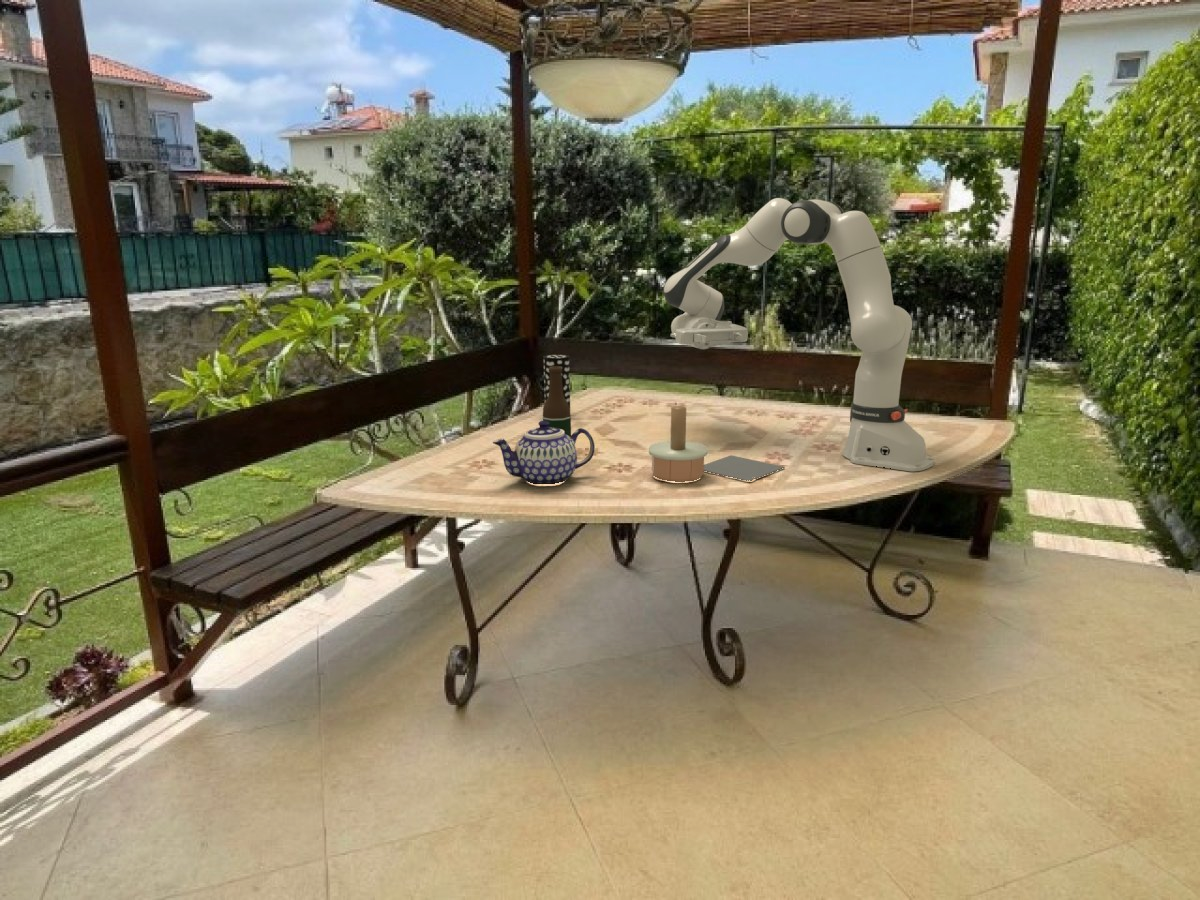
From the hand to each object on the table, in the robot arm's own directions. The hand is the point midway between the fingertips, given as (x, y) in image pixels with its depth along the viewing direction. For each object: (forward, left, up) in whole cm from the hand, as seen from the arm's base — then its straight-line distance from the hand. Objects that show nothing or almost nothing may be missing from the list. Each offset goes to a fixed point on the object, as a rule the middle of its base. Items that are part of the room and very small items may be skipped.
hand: (723, 338), depth 199 cm
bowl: (-8, +30, -30) cm, 43 cm away
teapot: (+13, +54, -30) cm, 63 cm away
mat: (-16, +15, -30) cm, 37 cm away
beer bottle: (+27, +37, -30) cm, 54 cm away
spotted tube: (+61, +5, -30) cm, 68 cm away
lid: (-8, +29, -24) cm, 39 cm away
